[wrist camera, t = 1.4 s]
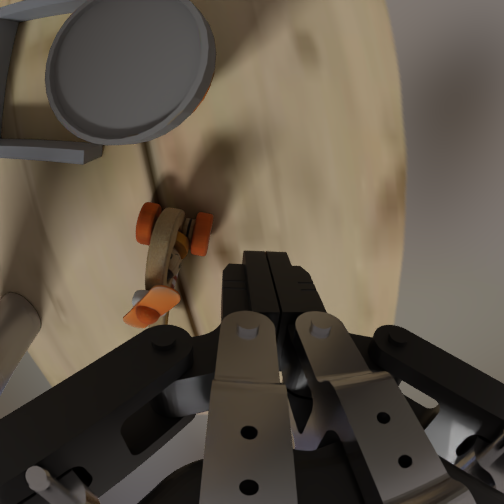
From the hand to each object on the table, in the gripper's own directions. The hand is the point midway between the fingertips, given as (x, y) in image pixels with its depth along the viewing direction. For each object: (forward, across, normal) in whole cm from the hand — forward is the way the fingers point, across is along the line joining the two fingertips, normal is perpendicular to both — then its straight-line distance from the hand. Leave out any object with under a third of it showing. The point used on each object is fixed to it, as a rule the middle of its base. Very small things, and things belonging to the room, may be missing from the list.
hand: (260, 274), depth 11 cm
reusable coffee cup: (+26, +8, -9) cm, 29 cm away
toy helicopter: (+26, +8, +14) cm, 30 cm away
